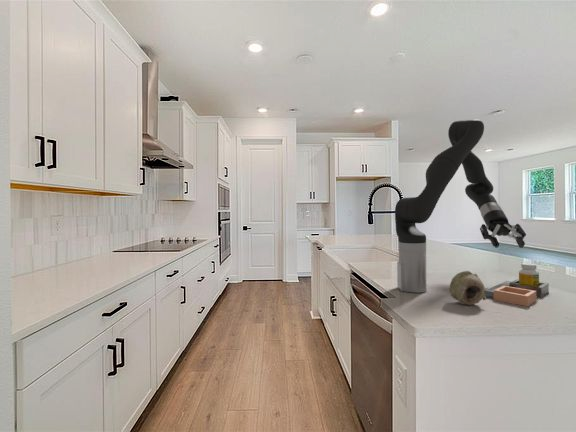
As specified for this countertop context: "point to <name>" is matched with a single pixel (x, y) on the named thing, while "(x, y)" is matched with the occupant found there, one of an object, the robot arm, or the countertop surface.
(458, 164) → the robot arm
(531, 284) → the supplement bottle
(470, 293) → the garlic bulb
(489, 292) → the rail
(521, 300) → the marked socket
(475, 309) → the countertop surface
